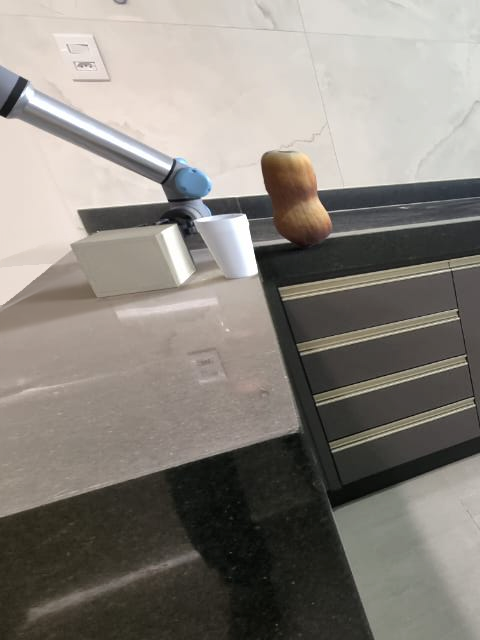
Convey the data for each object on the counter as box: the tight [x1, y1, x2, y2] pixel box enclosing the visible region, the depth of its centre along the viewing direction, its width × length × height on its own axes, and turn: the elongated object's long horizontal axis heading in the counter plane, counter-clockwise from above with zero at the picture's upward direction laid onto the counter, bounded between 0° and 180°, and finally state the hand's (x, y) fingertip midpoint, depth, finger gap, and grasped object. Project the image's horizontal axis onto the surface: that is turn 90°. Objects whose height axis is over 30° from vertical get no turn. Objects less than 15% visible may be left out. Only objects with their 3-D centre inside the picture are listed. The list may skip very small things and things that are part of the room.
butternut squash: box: [260, 149, 333, 250], centre depth 141 cm, size 14×13×25 cm
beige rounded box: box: [69, 224, 197, 299], centre depth 116 cm, size 15×14×11 cm
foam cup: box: [193, 213, 258, 280], centre depth 119 cm, size 10×9×13 cm
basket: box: [178, 226, 196, 266], centre depth 122 cm, size 20×13×9 cm, turn 25°
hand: (153, 237), depth 125 cm, fingers closed on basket, 9 cm apart
